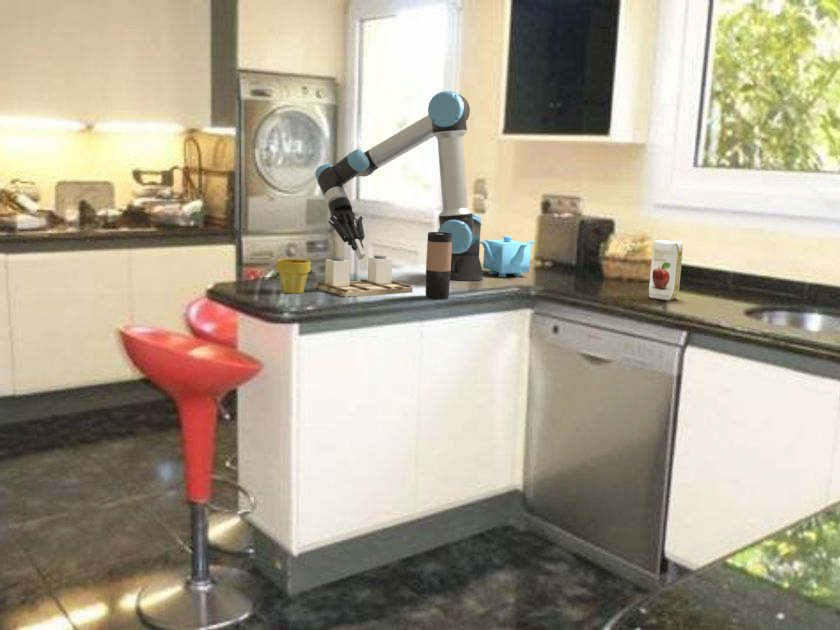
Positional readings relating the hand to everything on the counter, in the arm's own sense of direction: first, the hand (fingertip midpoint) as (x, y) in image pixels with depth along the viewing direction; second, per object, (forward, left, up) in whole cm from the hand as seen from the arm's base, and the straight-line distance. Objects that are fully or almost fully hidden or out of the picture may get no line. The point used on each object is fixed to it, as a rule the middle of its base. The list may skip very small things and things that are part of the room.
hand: (361, 256), depth 281 cm
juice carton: (-95, +34, -9) cm, 101 cm away
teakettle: (-60, -17, -9) cm, 63 cm away
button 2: (-4, +9, -7) cm, 13 cm away
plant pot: (+25, +17, -9) cm, 32 cm away
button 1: (+11, +15, -7) cm, 20 cm away
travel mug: (-18, +29, -9) cm, 35 cm away
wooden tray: (+2, +15, -9) cm, 18 cm away
